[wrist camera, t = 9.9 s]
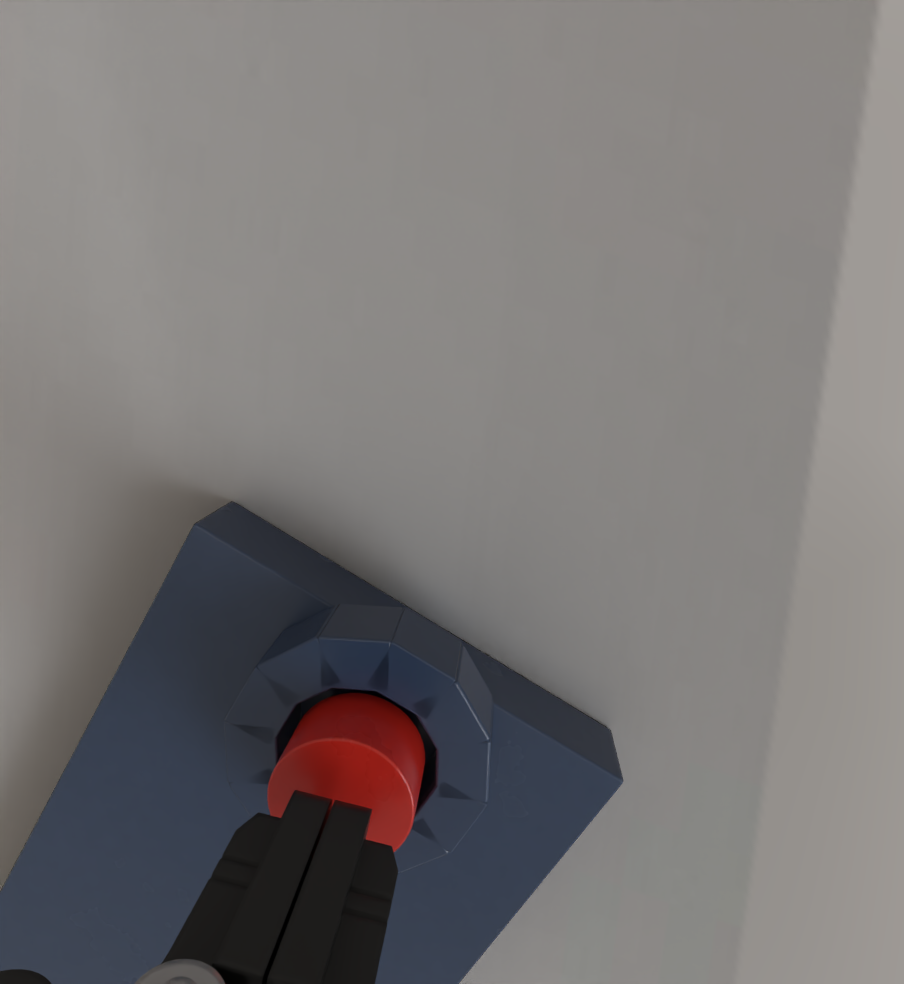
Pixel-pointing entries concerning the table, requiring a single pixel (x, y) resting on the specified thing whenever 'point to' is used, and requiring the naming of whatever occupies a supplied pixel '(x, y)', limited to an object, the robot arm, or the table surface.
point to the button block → (258, 747)
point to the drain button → (355, 762)
